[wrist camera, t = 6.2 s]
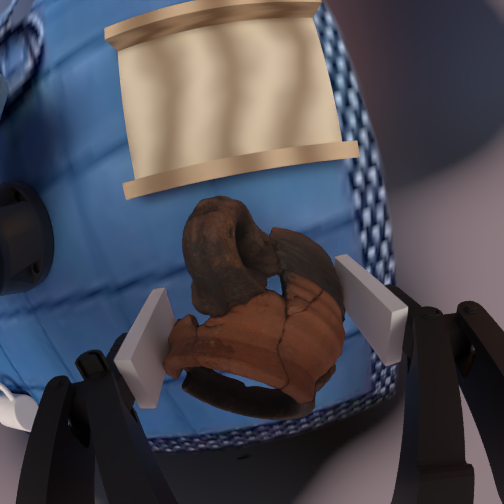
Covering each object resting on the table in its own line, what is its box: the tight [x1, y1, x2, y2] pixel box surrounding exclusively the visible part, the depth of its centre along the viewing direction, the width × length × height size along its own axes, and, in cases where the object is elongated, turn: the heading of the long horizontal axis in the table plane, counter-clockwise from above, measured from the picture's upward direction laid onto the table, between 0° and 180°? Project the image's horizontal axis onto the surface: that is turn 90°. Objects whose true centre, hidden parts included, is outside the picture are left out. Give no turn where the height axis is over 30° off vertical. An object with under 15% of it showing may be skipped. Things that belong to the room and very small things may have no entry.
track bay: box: [105, 0, 360, 200], centre depth 23 cm, size 22×19×5 cm
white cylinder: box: [0, 382, 39, 432], centre depth 33 cm, size 12×10×8 cm
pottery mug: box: [163, 196, 346, 420], centre depth 14 cm, size 12×10×8 cm
